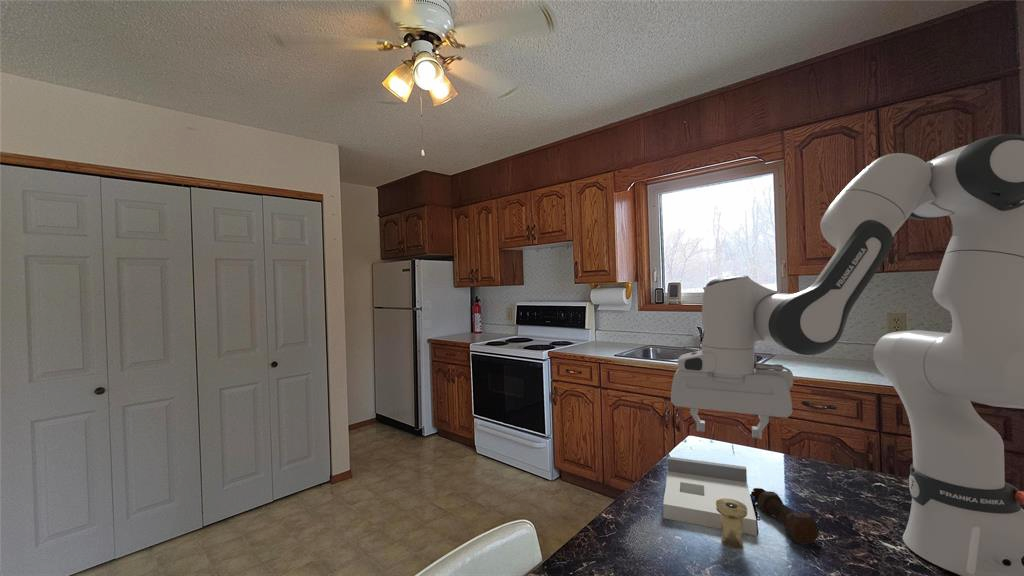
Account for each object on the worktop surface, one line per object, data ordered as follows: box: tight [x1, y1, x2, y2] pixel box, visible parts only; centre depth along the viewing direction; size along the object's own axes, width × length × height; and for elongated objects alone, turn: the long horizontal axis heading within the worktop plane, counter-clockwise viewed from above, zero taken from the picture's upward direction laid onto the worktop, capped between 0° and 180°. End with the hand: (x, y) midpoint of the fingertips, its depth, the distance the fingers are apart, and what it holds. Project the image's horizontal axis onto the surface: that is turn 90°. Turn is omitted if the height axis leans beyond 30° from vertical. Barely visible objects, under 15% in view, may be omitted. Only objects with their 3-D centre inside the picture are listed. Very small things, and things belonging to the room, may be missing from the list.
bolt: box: [750, 487, 820, 545], centre depth 85 cm, size 6×5×15 cm
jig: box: [662, 456, 758, 537], centre depth 92 cm, size 17×18×6 cm
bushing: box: [716, 499, 747, 549], centre depth 79 cm, size 5×5×7 cm
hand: (728, 434), depth 79 cm, fingers open, 8 cm apart
